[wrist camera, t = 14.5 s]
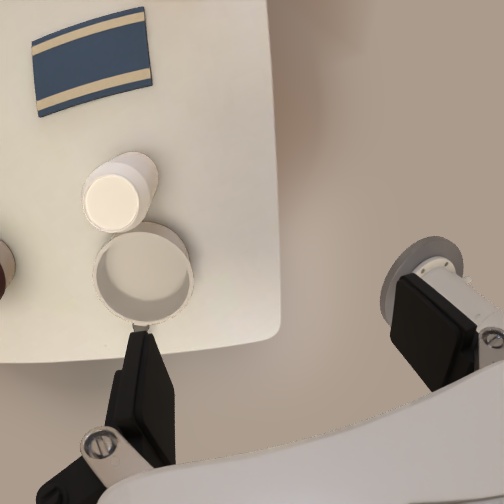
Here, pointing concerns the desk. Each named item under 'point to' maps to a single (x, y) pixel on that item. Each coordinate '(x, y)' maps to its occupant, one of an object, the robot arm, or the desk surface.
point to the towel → (91, 61)
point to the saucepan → (144, 275)
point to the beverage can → (120, 192)
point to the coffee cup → (5, 267)
